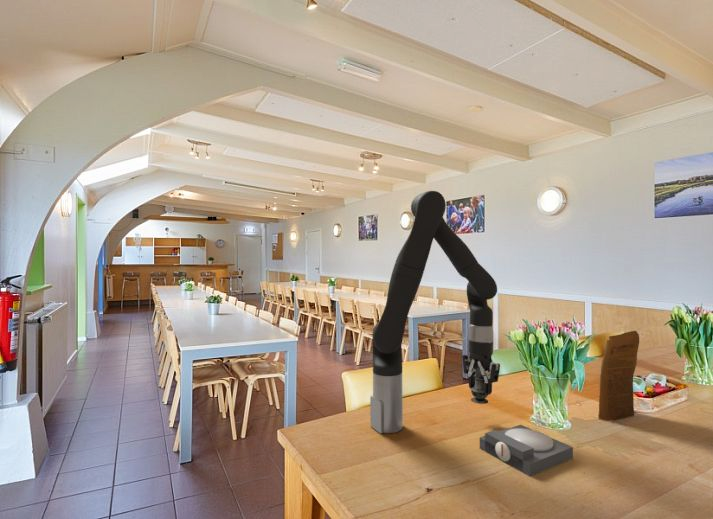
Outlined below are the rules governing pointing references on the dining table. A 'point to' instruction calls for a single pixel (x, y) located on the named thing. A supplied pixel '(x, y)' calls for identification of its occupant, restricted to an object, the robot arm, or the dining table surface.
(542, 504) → the dining table surface
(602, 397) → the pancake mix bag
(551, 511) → the dining table surface
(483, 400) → the salt shaker
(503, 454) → the kitchen scale
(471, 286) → the robot arm
